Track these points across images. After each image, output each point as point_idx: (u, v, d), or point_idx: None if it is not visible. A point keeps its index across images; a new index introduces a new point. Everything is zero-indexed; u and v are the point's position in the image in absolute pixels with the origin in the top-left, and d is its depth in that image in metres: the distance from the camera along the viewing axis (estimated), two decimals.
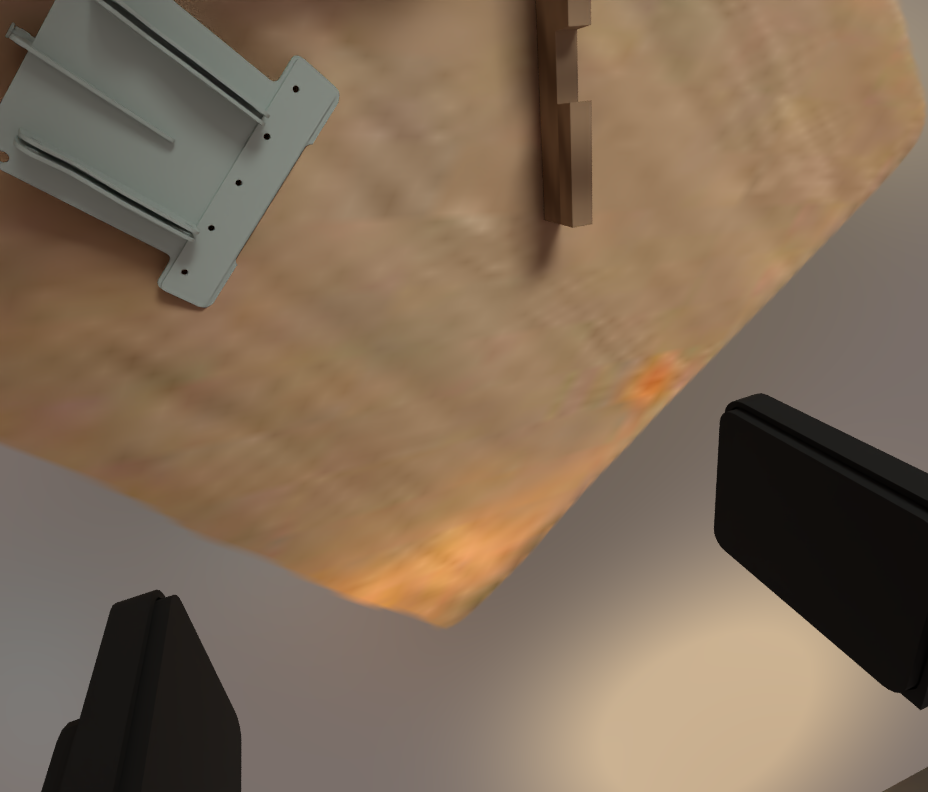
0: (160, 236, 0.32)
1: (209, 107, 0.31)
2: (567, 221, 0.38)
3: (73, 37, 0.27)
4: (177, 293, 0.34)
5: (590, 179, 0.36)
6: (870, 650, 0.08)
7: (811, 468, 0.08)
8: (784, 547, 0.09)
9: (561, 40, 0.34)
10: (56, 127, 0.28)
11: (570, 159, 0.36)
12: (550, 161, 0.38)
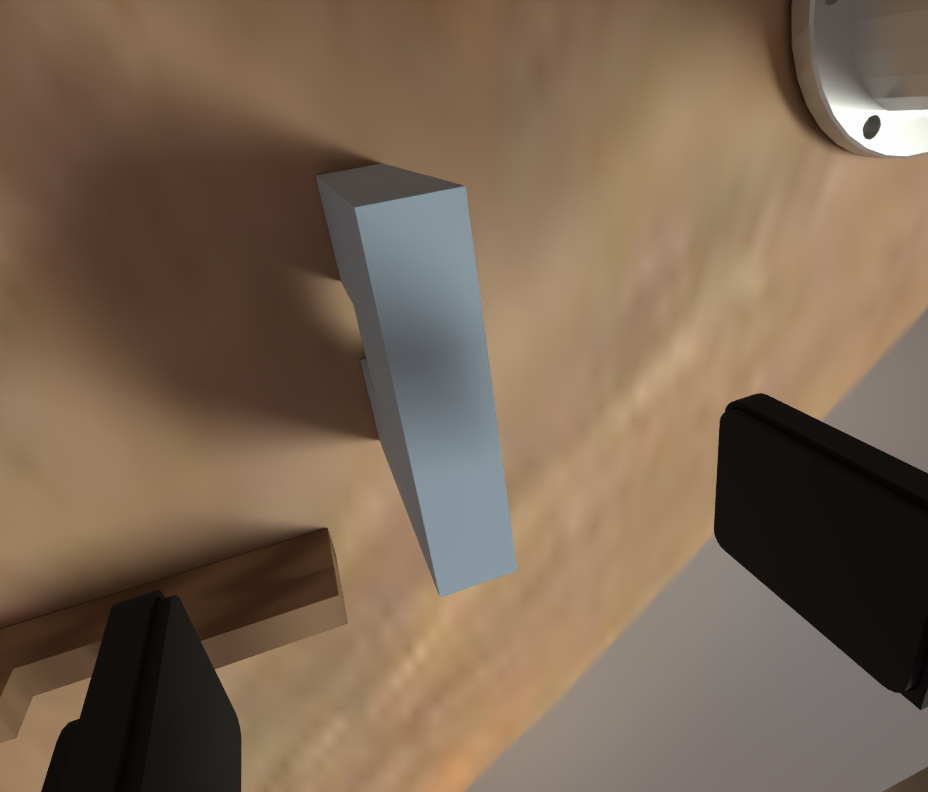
0: None
1: None
2: None
3: None
4: None
5: None
6: (870, 650, 0.08)
7: (811, 468, 0.08)
8: (784, 547, 0.09)
9: None
10: None
11: None
12: None
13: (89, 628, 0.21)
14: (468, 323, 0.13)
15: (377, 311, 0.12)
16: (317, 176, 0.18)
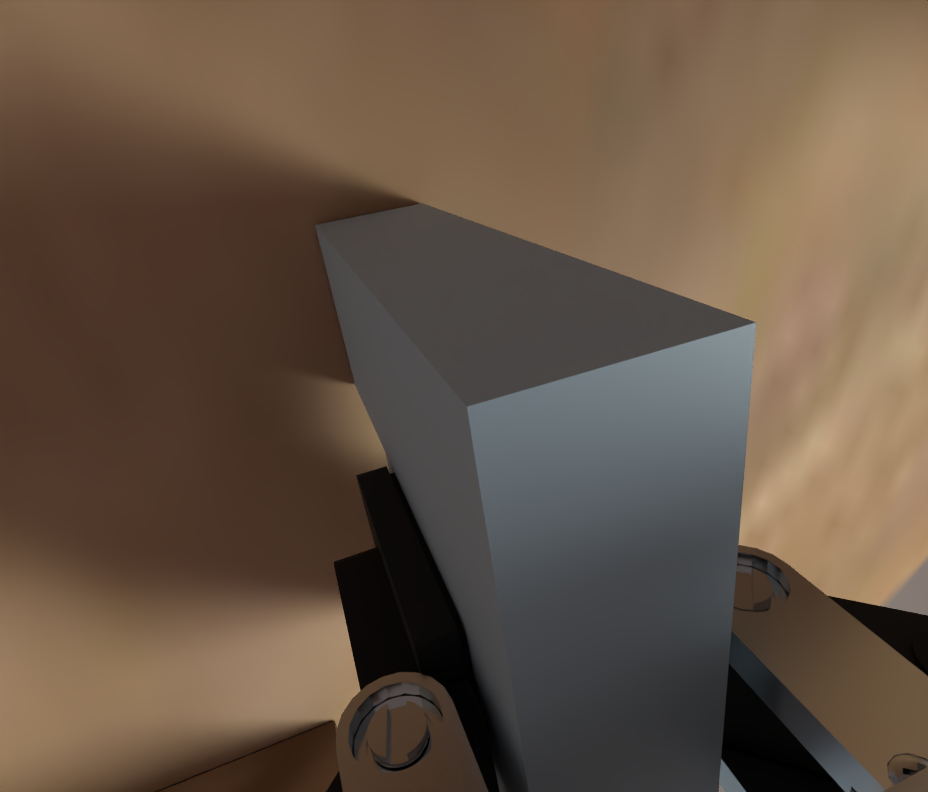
0: None
1: None
2: None
3: None
4: None
5: None
6: None
7: None
8: None
9: None
10: None
11: None
12: None
13: None
14: (701, 620, 0.05)
15: (503, 635, 0.05)
16: (319, 228, 0.11)
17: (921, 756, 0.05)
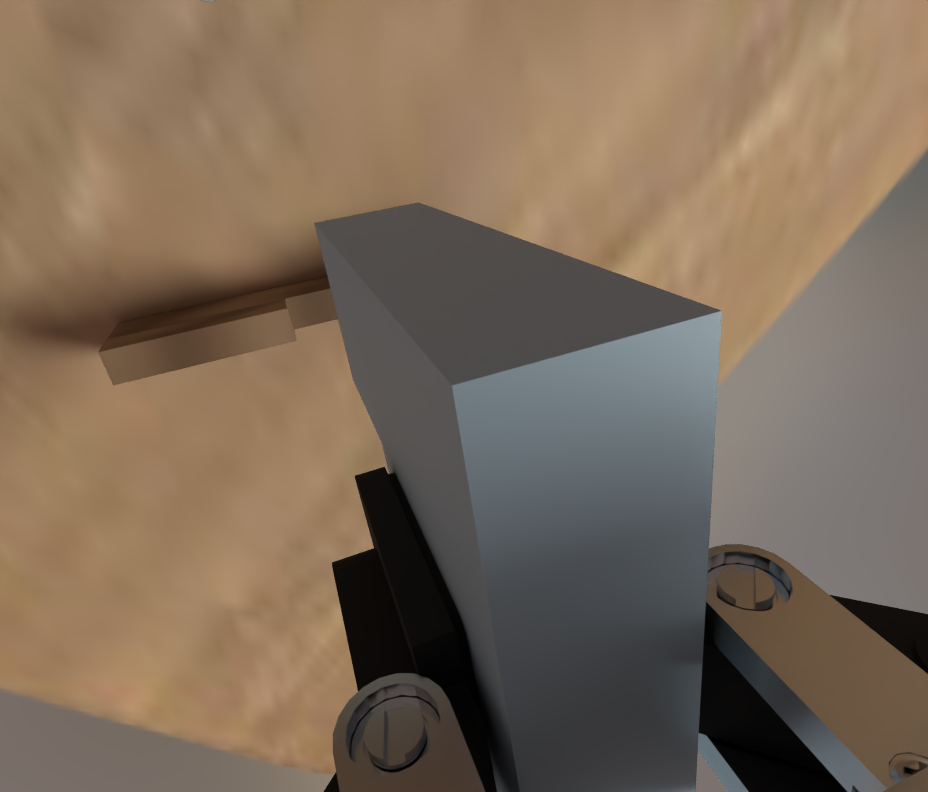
0: None
1: None
2: (110, 344, 0.23)
3: None
4: None
5: (186, 366, 0.24)
6: None
7: None
8: None
9: None
10: None
11: (208, 326, 0.23)
12: (207, 309, 0.25)
13: None
14: (676, 593, 0.06)
15: (488, 603, 0.05)
16: (318, 226, 0.11)
17: (922, 756, 0.05)
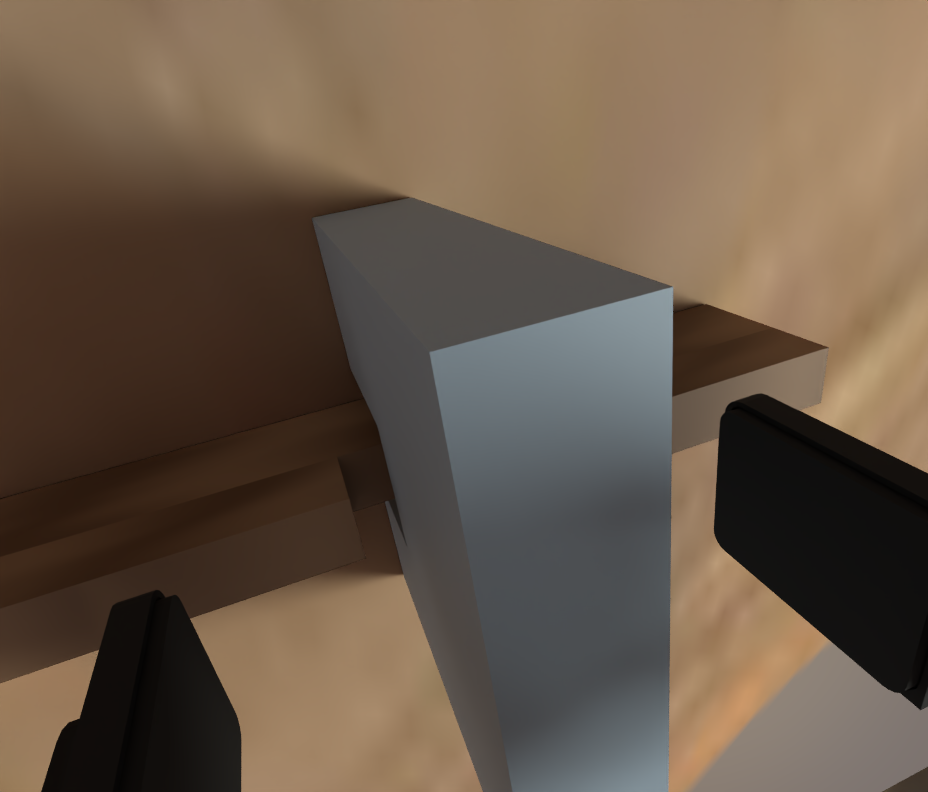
0: None
1: None
2: None
3: None
4: None
5: None
6: (870, 650, 0.08)
7: (811, 468, 0.08)
8: (784, 547, 0.09)
9: None
10: None
11: (169, 551, 0.10)
12: (173, 476, 0.12)
13: None
14: (642, 549, 0.06)
15: (467, 554, 0.05)
16: (315, 220, 0.12)
17: None
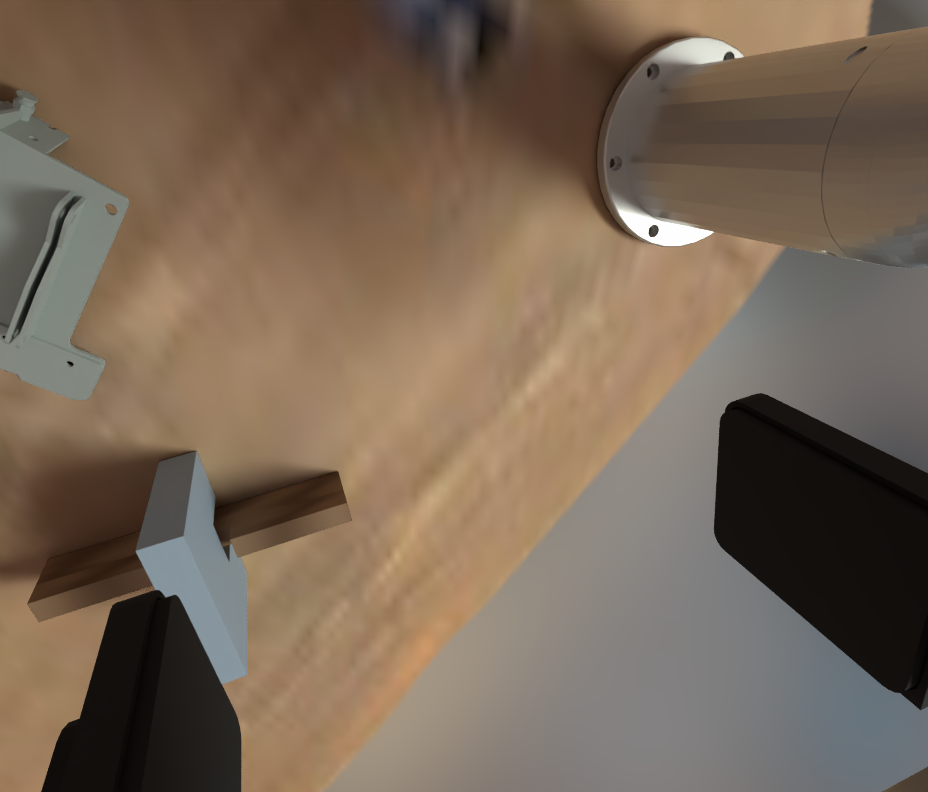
0: None
1: (11, 285, 0.29)
2: (36, 594, 0.33)
3: (25, 168, 0.26)
4: None
5: (91, 603, 0.34)
6: (870, 650, 0.08)
7: (811, 468, 0.08)
8: (784, 547, 0.09)
9: (224, 532, 0.36)
10: None
11: (106, 578, 0.33)
12: (111, 550, 0.36)
13: None
14: (196, 580, 0.30)
15: (152, 582, 0.29)
16: (158, 466, 0.35)
17: None
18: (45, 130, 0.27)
